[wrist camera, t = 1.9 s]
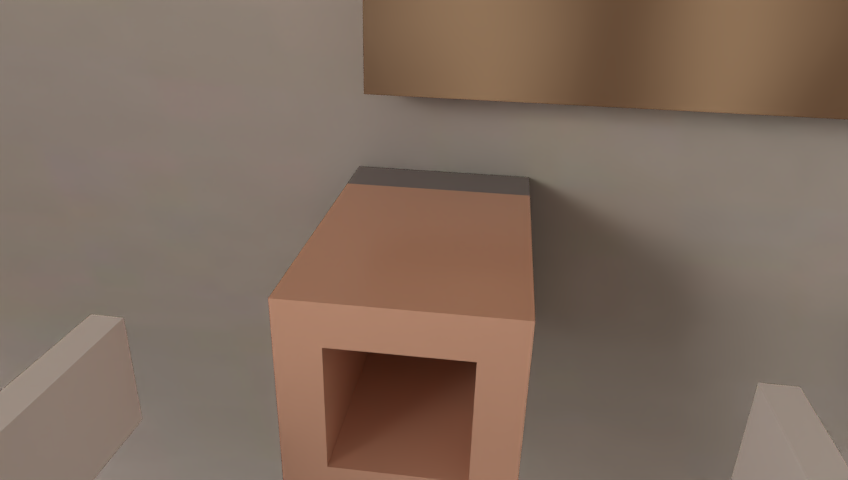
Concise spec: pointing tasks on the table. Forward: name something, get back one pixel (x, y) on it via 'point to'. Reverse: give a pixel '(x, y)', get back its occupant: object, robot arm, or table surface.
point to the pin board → (615, 53)
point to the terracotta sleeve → (408, 331)
